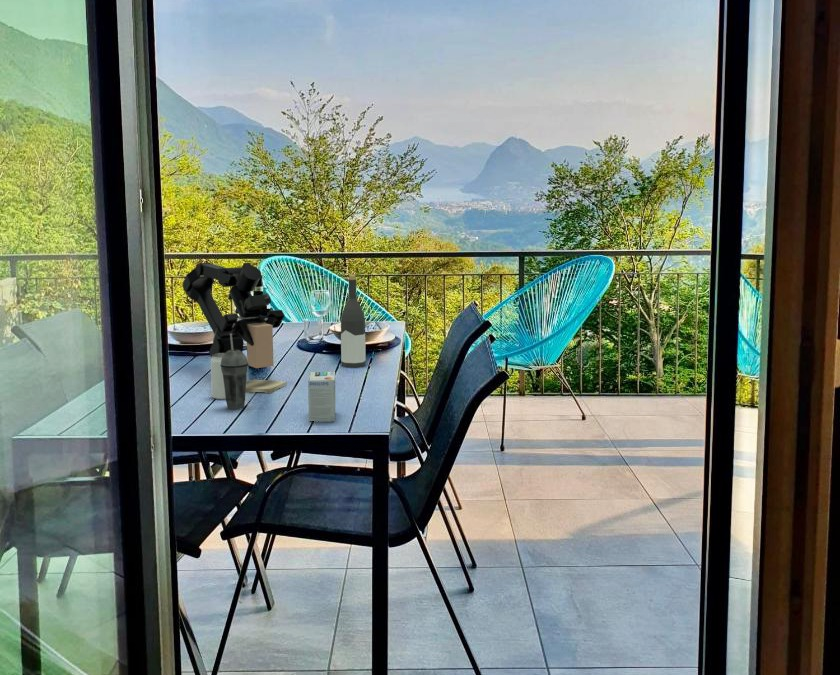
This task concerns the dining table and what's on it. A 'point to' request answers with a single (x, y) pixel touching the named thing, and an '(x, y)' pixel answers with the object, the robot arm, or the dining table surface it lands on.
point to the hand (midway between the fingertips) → (262, 343)
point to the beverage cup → (234, 377)
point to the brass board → (263, 385)
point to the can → (217, 377)
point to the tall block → (260, 345)
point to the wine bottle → (353, 330)
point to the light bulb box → (321, 396)
